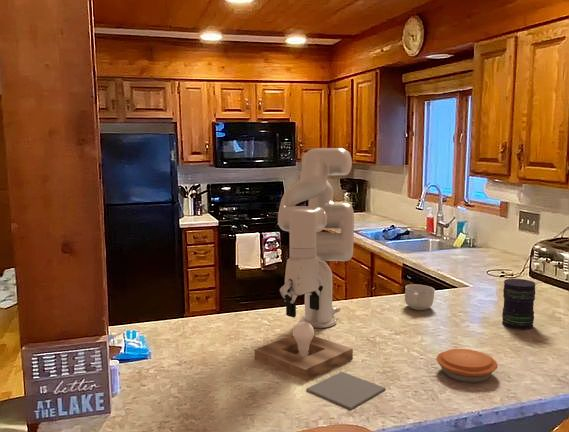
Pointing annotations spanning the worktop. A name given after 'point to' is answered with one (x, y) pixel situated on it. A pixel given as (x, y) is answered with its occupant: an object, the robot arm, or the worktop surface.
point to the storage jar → (518, 304)
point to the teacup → (419, 296)
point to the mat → (346, 390)
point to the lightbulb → (303, 337)
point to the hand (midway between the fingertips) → (302, 312)
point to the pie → (466, 365)
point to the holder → (304, 368)
